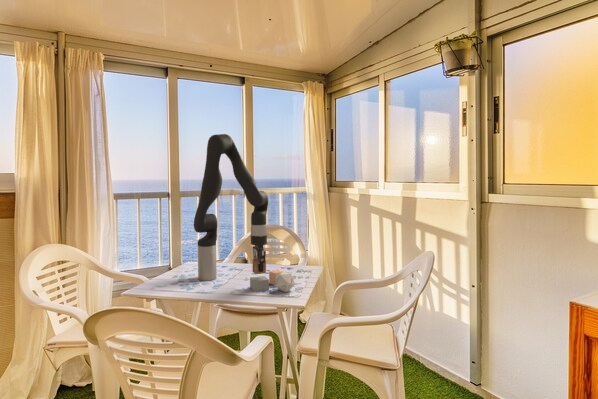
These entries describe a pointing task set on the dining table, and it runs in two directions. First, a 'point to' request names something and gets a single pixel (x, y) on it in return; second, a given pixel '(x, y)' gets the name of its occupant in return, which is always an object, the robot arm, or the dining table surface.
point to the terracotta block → (273, 276)
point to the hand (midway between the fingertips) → (259, 270)
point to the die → (284, 282)
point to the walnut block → (255, 266)
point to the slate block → (259, 283)
